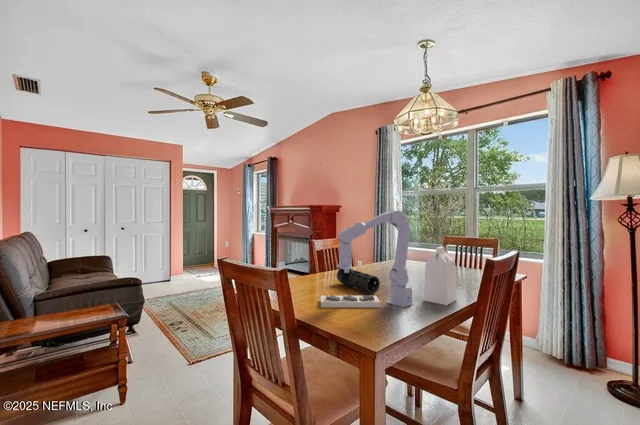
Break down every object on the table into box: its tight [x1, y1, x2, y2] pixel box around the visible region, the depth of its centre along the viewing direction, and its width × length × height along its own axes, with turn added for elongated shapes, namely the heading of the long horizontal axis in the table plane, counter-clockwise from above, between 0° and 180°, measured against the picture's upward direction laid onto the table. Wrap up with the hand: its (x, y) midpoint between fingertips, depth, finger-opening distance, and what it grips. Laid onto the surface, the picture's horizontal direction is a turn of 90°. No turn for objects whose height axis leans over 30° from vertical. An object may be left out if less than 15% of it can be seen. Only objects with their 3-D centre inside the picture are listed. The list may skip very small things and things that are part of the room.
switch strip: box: [320, 295, 381, 308], centre depth 145 cm, size 27×10×3 cm, turn 90°
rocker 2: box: [360, 294, 374, 301], centre depth 144 cm, size 6×4×1 cm, turn 90°
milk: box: [422, 246, 457, 306], centre depth 151 cm, size 12×12×26 cm
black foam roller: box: [335, 267, 381, 296], centre depth 171 cm, size 10×28×10 cm, turn 32°
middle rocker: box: [342, 293, 357, 301], centre depth 144 cm, size 6×4×1 cm, turn 90°
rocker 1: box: [325, 294, 339, 301], centre depth 144 cm, size 6×4×1 cm, turn 90°
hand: (345, 284), depth 143 cm, fingers closed
